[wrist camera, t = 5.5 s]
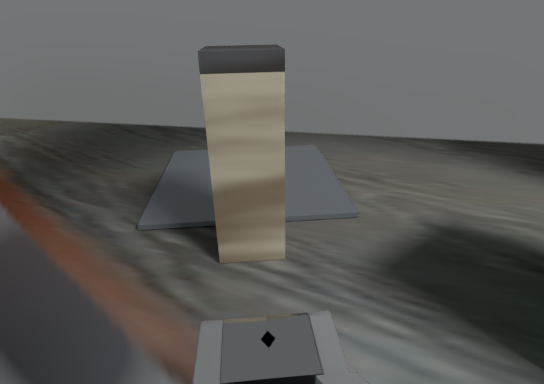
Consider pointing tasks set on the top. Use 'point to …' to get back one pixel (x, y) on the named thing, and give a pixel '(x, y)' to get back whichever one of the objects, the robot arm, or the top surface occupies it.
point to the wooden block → (246, 148)
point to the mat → (199, 198)
